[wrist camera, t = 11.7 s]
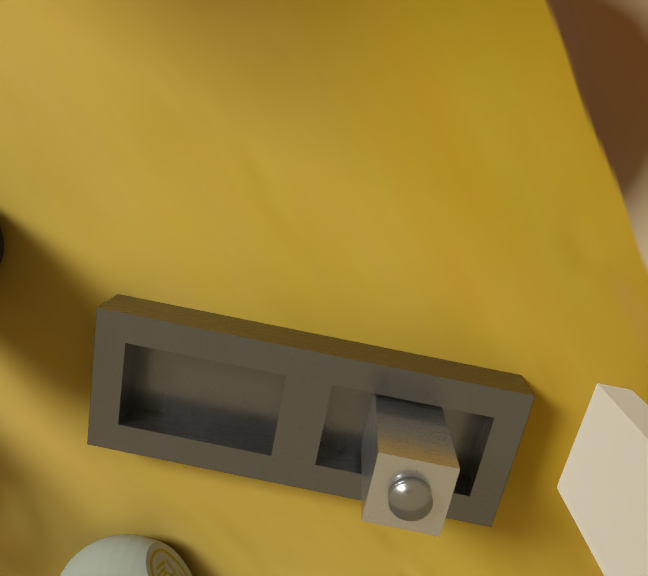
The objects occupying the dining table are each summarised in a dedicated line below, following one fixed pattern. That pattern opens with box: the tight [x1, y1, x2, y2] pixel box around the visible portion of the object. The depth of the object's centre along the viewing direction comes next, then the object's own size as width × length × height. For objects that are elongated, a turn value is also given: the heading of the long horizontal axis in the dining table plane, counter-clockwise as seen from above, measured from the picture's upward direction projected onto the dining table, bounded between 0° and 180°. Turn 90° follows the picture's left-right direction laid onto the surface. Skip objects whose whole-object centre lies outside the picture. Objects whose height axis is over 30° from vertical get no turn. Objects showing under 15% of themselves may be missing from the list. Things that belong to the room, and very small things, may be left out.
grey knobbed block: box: [361, 393, 460, 537], centre depth 33 cm, size 4×4×9 cm
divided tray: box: [87, 294, 535, 527], centre depth 36 cm, size 10×28×3 cm, turn 79°
